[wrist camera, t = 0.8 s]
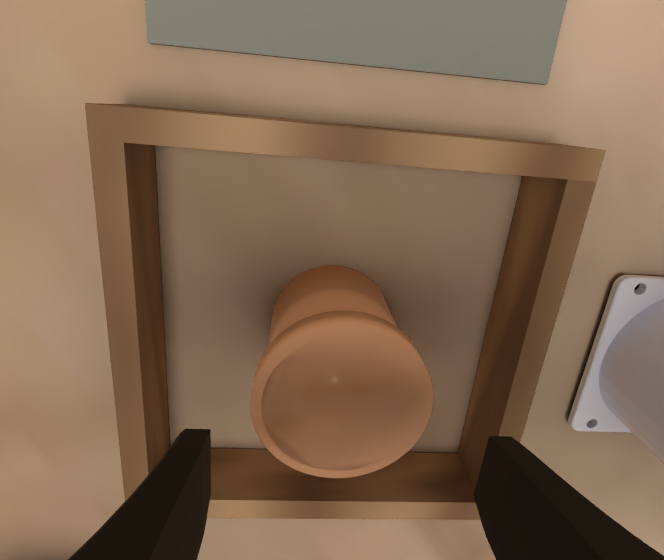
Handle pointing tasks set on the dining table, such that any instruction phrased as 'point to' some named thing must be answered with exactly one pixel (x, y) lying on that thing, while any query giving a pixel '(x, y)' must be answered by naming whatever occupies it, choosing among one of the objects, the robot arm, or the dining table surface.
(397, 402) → the terracotta pot
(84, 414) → the dining table surface
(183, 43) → the rubber mat
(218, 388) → the dining table surface
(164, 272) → the dining table surface
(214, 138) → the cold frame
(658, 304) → the robot arm
